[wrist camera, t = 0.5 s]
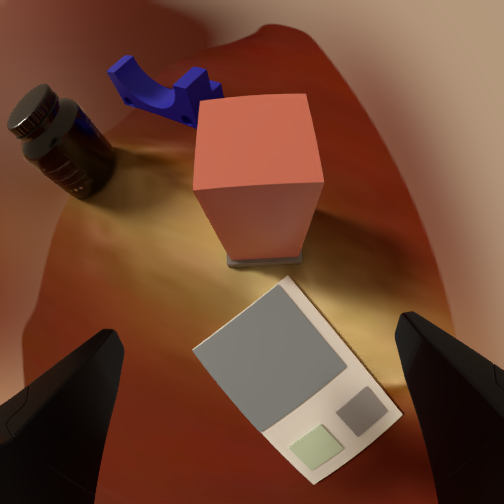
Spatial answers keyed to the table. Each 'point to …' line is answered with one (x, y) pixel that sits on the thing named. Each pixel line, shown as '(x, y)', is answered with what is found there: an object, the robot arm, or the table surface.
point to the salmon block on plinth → (258, 175)
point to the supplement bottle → (62, 142)
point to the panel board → (297, 382)
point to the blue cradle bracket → (164, 91)
